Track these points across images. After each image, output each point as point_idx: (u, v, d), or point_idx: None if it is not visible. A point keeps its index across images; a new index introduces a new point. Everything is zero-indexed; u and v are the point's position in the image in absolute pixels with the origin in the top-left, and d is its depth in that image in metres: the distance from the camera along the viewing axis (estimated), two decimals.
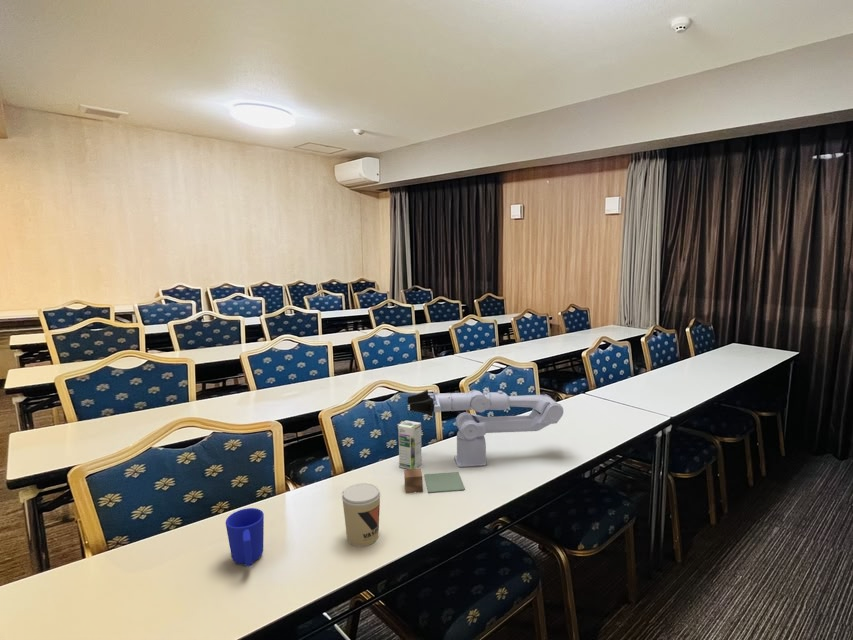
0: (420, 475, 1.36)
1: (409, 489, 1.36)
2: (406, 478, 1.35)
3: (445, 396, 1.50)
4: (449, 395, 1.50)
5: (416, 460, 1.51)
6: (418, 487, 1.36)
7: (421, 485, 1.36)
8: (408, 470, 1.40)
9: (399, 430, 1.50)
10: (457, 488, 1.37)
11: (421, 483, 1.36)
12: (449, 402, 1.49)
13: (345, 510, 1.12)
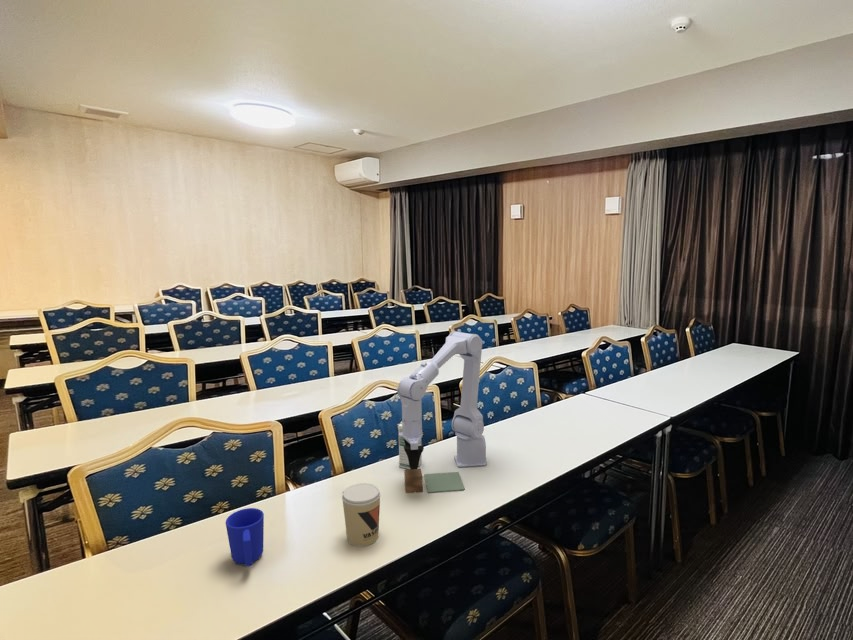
0: (420, 475, 1.36)
1: (409, 489, 1.36)
2: (406, 478, 1.35)
3: (404, 426, 1.34)
4: (403, 422, 1.34)
5: None
6: (418, 487, 1.36)
7: (421, 485, 1.36)
8: (408, 470, 1.40)
9: (400, 430, 1.50)
10: (457, 488, 1.37)
11: (421, 483, 1.36)
12: (410, 424, 1.33)
13: (345, 510, 1.12)
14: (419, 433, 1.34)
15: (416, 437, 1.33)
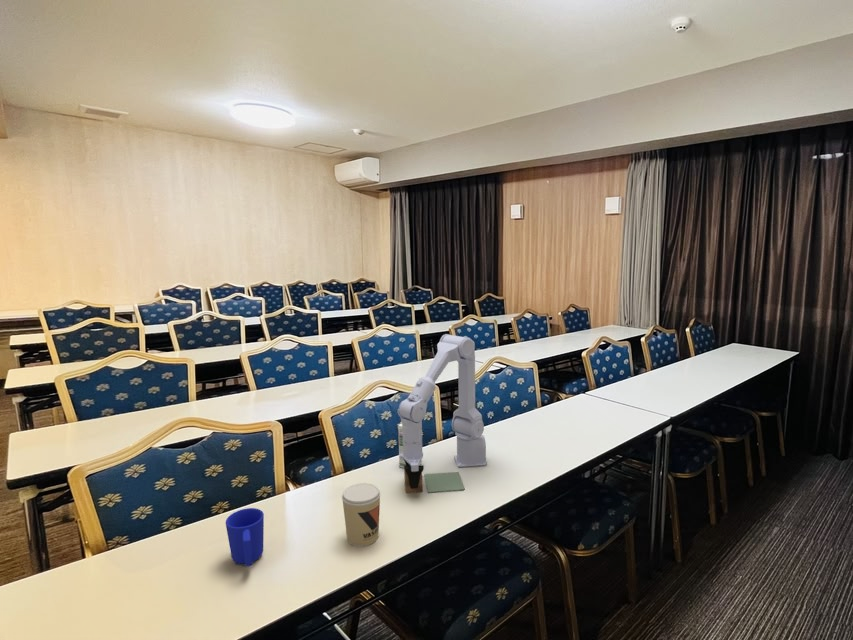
0: None
1: (409, 489, 1.36)
2: (406, 478, 1.35)
3: (405, 448, 1.35)
4: (404, 443, 1.35)
5: None
6: (418, 487, 1.36)
7: (421, 485, 1.36)
8: None
9: (399, 430, 1.50)
10: (457, 488, 1.37)
11: (421, 483, 1.36)
12: (410, 446, 1.34)
13: (345, 510, 1.12)
14: (419, 454, 1.35)
15: (416, 458, 1.34)
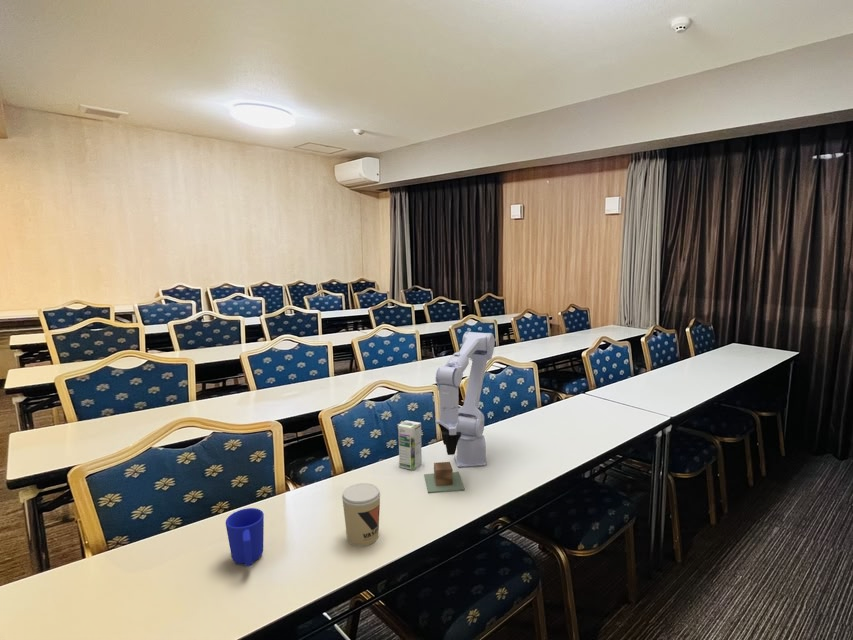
0: (450, 468, 1.39)
1: (440, 482, 1.39)
2: (437, 471, 1.38)
3: (442, 413, 1.37)
4: (441, 409, 1.38)
5: (416, 460, 1.51)
6: (448, 480, 1.39)
7: (451, 478, 1.39)
8: (438, 463, 1.42)
9: (399, 430, 1.50)
10: (457, 488, 1.37)
11: (451, 476, 1.39)
12: (448, 411, 1.36)
13: (345, 510, 1.12)
14: (456, 420, 1.38)
15: (453, 423, 1.37)
